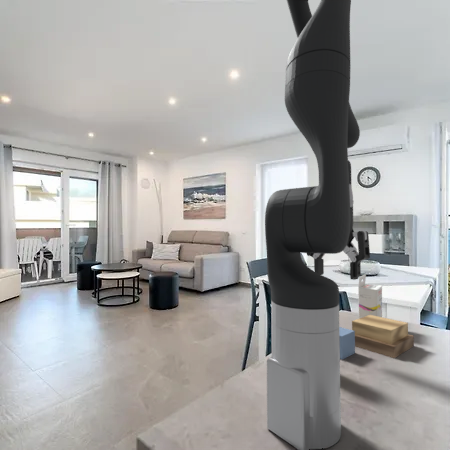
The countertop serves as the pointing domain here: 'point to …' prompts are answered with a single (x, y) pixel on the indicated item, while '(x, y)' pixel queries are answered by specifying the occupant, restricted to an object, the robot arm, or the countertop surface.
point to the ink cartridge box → (369, 299)
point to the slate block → (346, 342)
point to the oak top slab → (380, 328)
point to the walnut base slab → (385, 345)
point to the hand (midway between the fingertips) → (336, 276)
